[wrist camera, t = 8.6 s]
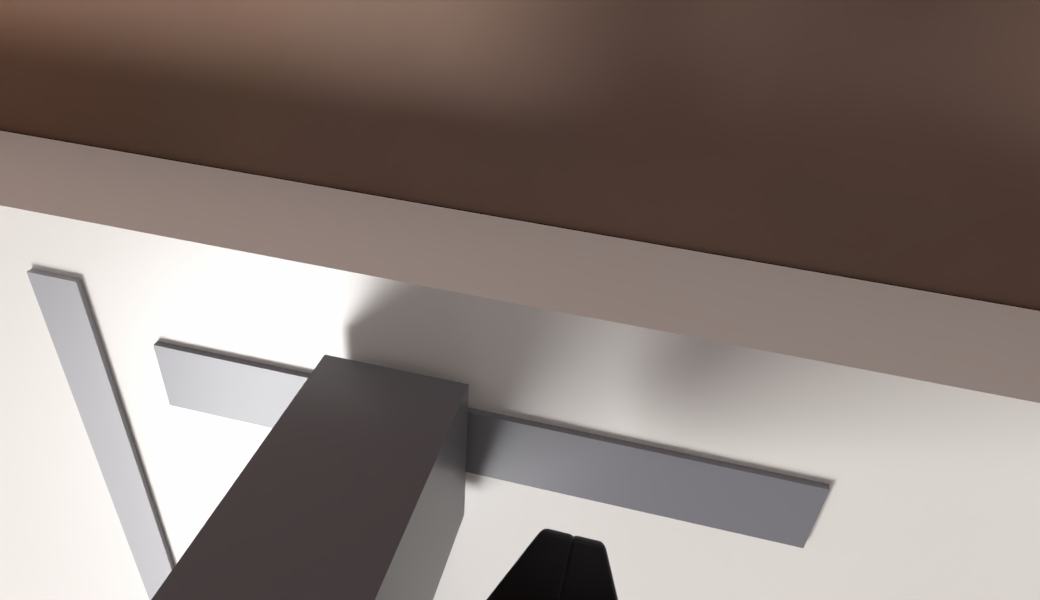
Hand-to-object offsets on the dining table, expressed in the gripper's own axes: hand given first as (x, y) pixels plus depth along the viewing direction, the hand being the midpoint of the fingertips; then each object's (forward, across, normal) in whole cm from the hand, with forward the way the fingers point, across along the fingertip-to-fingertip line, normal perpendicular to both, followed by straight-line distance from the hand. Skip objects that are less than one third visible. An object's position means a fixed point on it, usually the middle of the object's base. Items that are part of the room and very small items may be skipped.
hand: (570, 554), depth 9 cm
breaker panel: (+4, +3, +6) cm, 8 cm away
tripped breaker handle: (+1, +3, 0) cm, 3 cm away
